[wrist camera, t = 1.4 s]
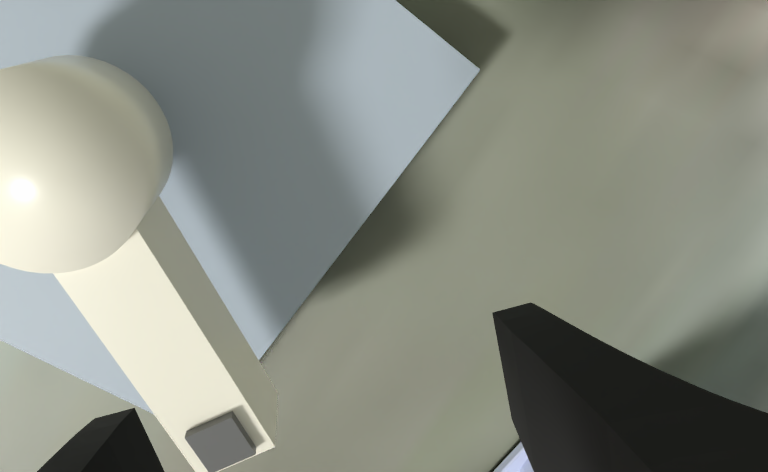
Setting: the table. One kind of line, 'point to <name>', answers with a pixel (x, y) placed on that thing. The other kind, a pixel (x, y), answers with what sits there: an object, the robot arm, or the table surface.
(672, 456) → the robot arm
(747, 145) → the table surface
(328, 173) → the board
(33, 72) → the cream knobbed bar
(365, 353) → the table surface
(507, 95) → the table surface
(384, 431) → the table surface
